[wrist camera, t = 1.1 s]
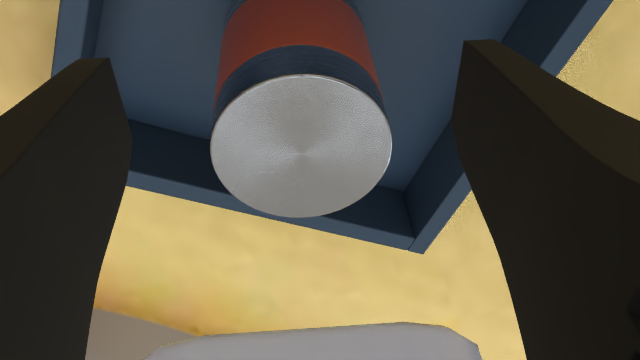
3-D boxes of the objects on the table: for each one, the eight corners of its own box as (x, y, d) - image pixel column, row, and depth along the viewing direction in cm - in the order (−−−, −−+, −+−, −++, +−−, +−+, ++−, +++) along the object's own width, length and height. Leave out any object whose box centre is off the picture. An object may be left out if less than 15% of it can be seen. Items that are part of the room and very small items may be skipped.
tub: (612, -109, 19) (668, -72, 17) (408, 198, 28) (423, 255, 25) (131, -345, 15) (101, -348, 12) (65, 109, 23) (39, 166, 21)
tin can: (390, 13, 21) (431, 128, 16) (312, 112, 24) (326, 240, 18) (269, -65, 19) (270, 39, 14) (199, 53, 22) (177, 178, 16)
